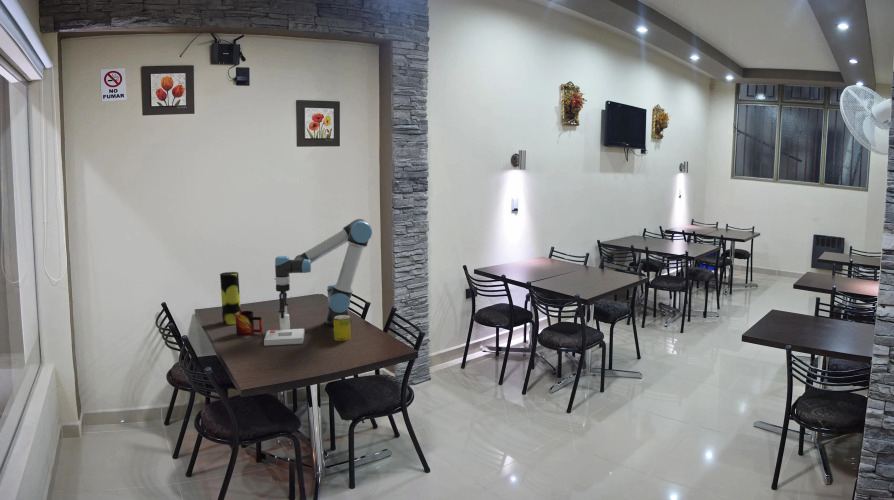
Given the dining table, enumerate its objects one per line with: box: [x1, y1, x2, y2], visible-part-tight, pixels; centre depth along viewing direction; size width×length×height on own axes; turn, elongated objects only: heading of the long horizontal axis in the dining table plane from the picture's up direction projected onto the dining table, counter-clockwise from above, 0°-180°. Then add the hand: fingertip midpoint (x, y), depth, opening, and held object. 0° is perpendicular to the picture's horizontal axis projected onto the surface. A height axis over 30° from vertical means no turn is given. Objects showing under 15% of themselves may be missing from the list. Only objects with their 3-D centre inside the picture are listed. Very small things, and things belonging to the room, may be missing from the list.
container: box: [219, 271, 242, 326], centre depth 370 cm, size 11×11×30 cm
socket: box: [263, 328, 305, 347], centre depth 338 cm, size 20×18×4 cm
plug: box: [279, 313, 291, 330], centre depth 351 cm, size 5×4×10 cm
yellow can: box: [333, 315, 352, 342], centre depth 339 cm, size 9×9×12 cm
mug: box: [235, 310, 263, 337], centre depth 349 cm, size 10×14×12 cm
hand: (283, 320), depth 350 cm, fingers open, 13 cm apart
